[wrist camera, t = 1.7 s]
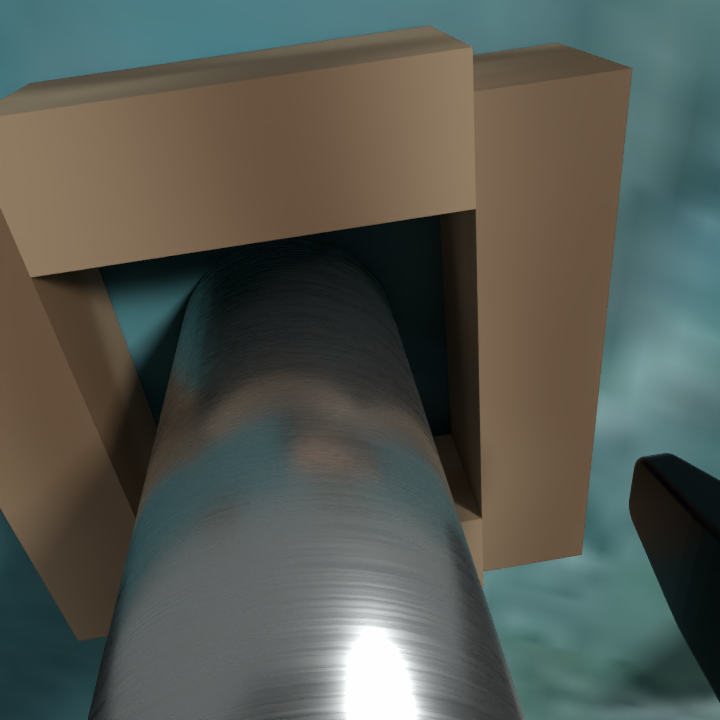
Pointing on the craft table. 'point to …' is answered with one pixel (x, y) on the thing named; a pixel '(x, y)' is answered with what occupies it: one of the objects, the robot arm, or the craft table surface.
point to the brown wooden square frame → (303, 217)
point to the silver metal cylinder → (297, 520)
